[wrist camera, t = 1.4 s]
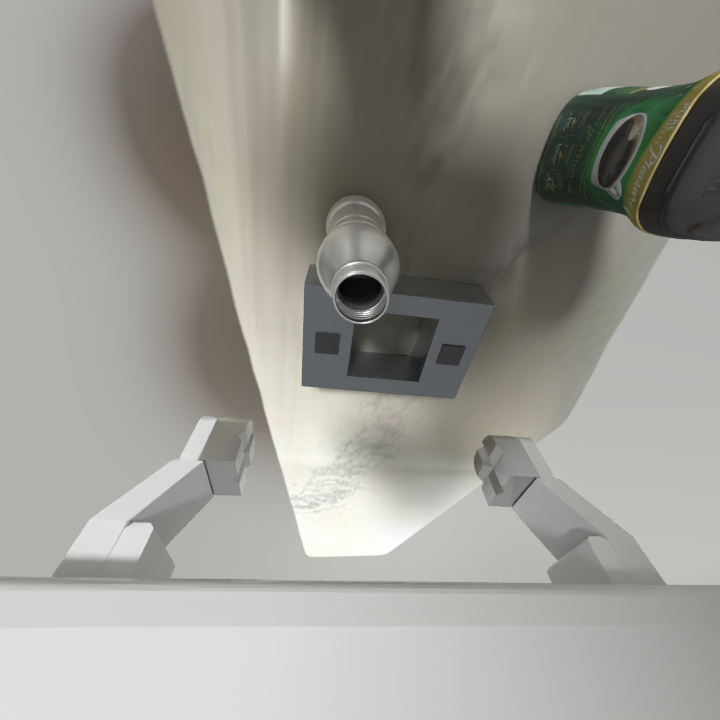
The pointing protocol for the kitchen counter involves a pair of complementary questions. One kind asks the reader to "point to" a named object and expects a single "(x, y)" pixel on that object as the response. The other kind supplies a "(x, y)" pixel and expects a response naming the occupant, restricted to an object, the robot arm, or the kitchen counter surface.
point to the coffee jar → (641, 157)
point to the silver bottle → (357, 260)
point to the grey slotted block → (386, 371)
